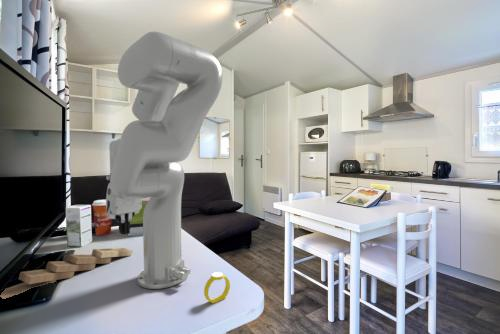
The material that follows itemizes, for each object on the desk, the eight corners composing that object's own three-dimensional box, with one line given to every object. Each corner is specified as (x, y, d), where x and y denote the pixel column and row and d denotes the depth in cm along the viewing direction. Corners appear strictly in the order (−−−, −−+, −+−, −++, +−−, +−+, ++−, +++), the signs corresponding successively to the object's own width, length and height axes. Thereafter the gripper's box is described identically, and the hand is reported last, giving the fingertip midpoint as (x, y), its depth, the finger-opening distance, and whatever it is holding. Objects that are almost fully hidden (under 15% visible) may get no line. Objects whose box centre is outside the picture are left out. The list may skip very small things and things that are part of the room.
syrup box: (92, 241, 96) (91, 204, 95) (80, 247, 90) (79, 207, 89) (79, 241, 96) (77, 204, 96) (66, 246, 91) (65, 207, 90)
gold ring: (224, 294, 59) (226, 269, 59) (231, 299, 57) (232, 273, 57) (201, 301, 55) (203, 274, 55) (207, 307, 53) (209, 279, 53)
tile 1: (111, 257, 77) (77, 257, 68) (109, 263, 76) (75, 264, 68) (101, 254, 79) (68, 254, 71) (100, 260, 79) (66, 260, 70)
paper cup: (93, 237, 101) (92, 203, 101) (92, 232, 108) (91, 200, 107) (114, 234, 105) (114, 201, 105) (113, 229, 112) (112, 198, 111)
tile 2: (95, 263, 72) (57, 265, 64) (94, 269, 72) (55, 272, 64) (85, 260, 75) (47, 261, 66) (84, 265, 75) (45, 268, 66)
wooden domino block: (56, 279, 64) (3, 298, 55) (56, 285, 64) (3, 305, 55) (47, 274, 67) (-5, 292, 58) (47, 280, 67) (-5, 299, 58)
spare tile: (132, 250, 82) (102, 252, 74) (130, 255, 82) (101, 257, 74) (122, 247, 85) (92, 249, 76) (121, 252, 85) (91, 254, 76)
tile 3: (74, 270, 68) (31, 276, 59) (73, 277, 67) (29, 284, 59) (64, 266, 70) (20, 272, 61) (62, 272, 70) (18, 279, 61)
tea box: (132, 227, 116) (132, 195, 115) (156, 225, 119) (155, 194, 118) (127, 237, 102) (126, 200, 101) (153, 234, 105) (153, 199, 104)
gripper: (106, 180, 74) (108, 242, 74) (150, 177, 87) (151, 229, 87) (93, 179, 78) (94, 238, 78) (136, 176, 90) (137, 226, 91)
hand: (124, 233), depth 83 cm, fingers closed
